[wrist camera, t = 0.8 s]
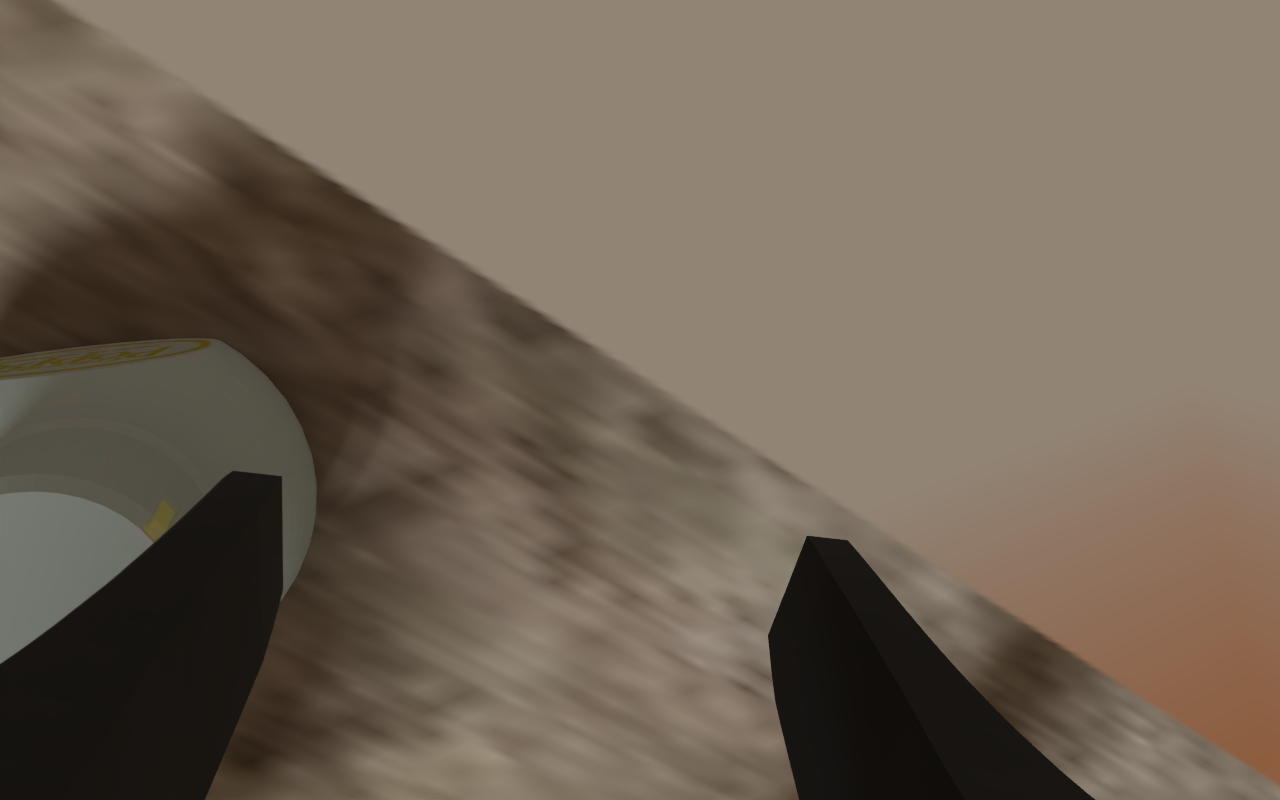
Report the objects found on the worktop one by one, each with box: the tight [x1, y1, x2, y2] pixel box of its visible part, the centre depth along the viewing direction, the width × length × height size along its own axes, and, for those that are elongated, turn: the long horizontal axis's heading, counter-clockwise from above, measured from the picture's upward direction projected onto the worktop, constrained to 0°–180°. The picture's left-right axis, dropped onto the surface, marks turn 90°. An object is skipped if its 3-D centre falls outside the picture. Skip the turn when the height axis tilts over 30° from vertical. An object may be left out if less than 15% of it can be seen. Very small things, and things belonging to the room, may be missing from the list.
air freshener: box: [0, 338, 317, 664], centre depth 24 cm, size 11×8×10 cm
